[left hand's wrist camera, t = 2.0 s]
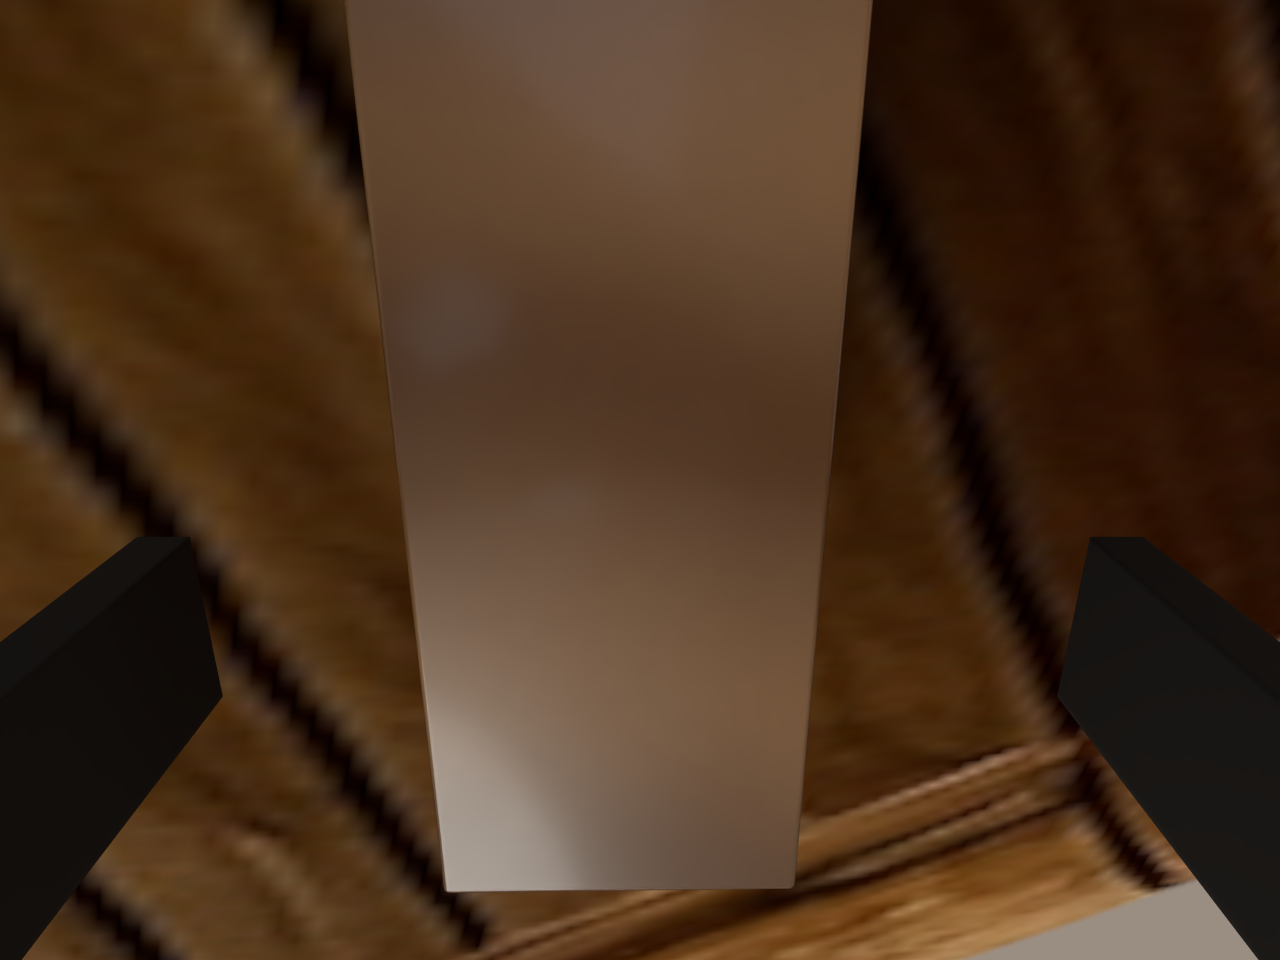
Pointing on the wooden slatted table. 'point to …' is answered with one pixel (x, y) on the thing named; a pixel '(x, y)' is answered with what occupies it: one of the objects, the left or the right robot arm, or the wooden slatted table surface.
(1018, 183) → the wooden slatted table surface
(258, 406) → the wooden slatted table surface
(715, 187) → the bar
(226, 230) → the wooden slatted table surface
